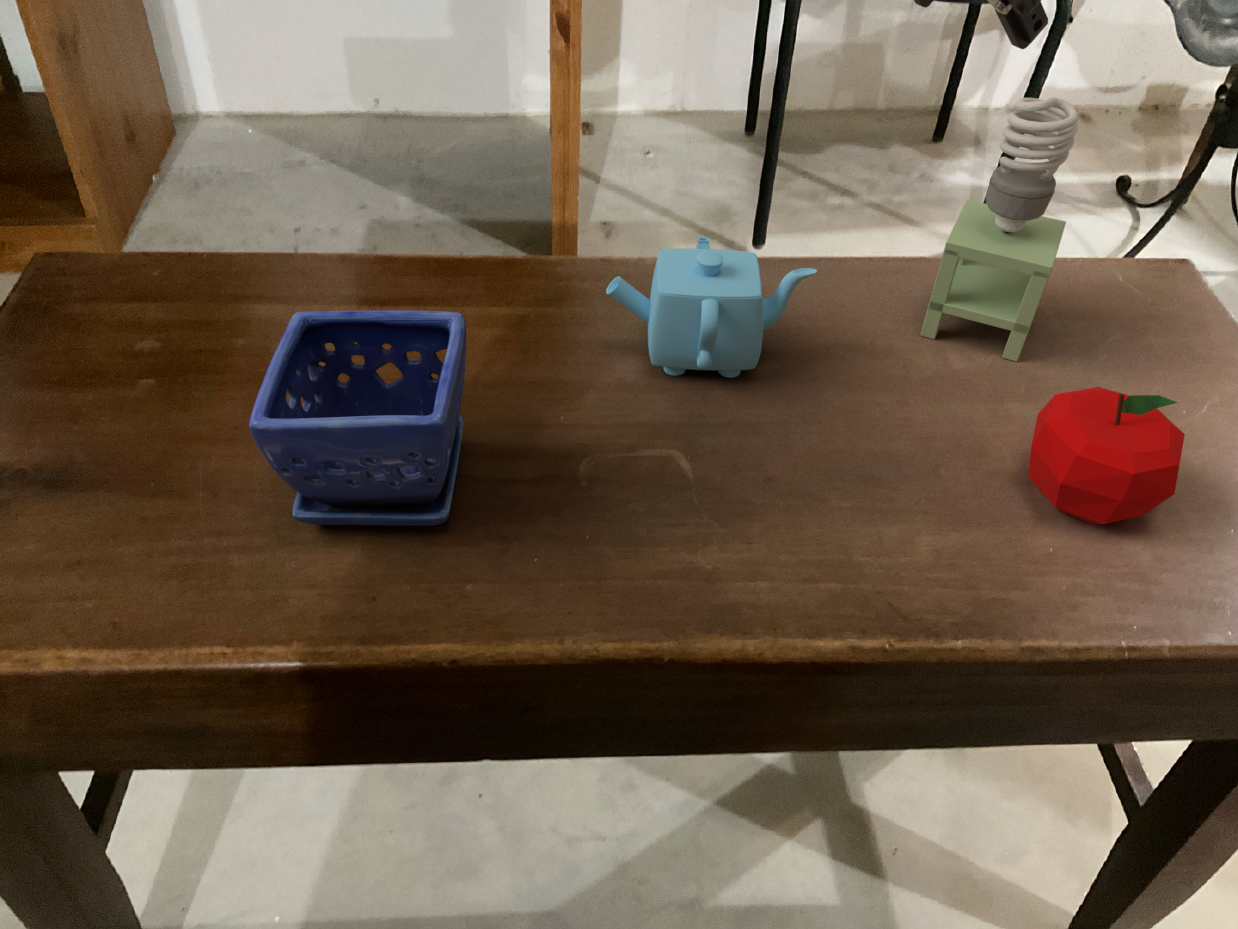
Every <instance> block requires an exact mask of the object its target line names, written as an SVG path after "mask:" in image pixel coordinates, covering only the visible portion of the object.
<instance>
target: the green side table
mask: <svg viewBox="0 0 1238 929" xmlns="http://www.w3.org/2000/svg"><path fill="white" fill-rule="evenodd" d="M995 219H996V214H995V213H994V212H992V211H991V210H990V209H989V208H988V206H987V204H986V202H985V203H984V202H980V201H975V200H971V199H966V200H965V201H964V204H963V206H962V208H961V210H960V212H959V214H958V216H957V219H956V221H955V223H954V225H953V227H952V229H951V231H950V234H949V236H948V238H947V240H946V242H945V245H944V249H943V251H942V256H941V259H940V263H939V267H938V269H937V273H936V277H935V280H934V284H933V288H932V292H931V295H930V299H929V301H928V305H927V308H926V313H925V316H924V319H923V323H922V327H921V331H920V335H919V336H920V337H923V338H927V339H931V340H935V339H936V337H937V334H938V333H939V329H940V326H941V322H942V319H943V316H944V314H945V315H948V316H949V315H950V316H954V317H957V318H959V319H960V318H961V319H965V320H969V321H973V322H976V323H980V324H984V325H987V326H992V327H995V328H999V329H1003V330H1007V331H1010V333H1009V337H1008V339H1007V342H1006V344H1005V347H1004V350H1003V353H1002V356H1001V358H1002V359H1005V360H1010V361H1011V362H1012V361H1013V362H1016V363H1017V362H1019V361H1018V360H1019V359H1020V356H1021V354H1022V350H1023V348H1024V345H1025V343H1026V340H1027V337H1028V335H1029V332H1030V329H1031V326H1032V324H1033V321H1034V319H1035V316H1036V313H1037V311H1038V308H1039V306H1040V302H1041V300H1042V297H1043V295H1044V292H1045V289H1046V286H1047V283H1048V281H1049V278H1050V276H1051V273H1052V270H1053V267H1054V265H1055V261H1056V257H1057V255H1058V251H1059V248H1060V244H1061V241H1062V238H1063V235H1064V231H1065V227H1066V224H1067V221H1066V220H1061V219H1057V218H1052V217H1048V216H1044V215H1042V216H1040V217H1039V218H1037V219H1033V220H1029V221H1026V223H1025V224H1024V227H1023V228H1022V229H1021V230H1018V231H1016V232H1012V233H1004V232H1003V231H1002V230H1001V229H999V228H998V226H997V225H996V223H995Z"/></svg>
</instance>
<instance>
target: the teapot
mask: <svg viewBox="0 0 1238 929" xmlns="http://www.w3.org/2000/svg"><path fill="white" fill-rule="evenodd" d="M695 247H696V248H663V249H660V250H659V251H658V254H657V257H656V262H655V266H654V270H653V276H652V281H651V286H650V296H649V298H648V297H646V296H645V295H644V294H643V293H641V292H640V291H638V289H636V288H635V287H633V285H631V284H630V283H629V282H627V281H626V280H625V279H623V277H621V276H616V277H614V278H613V280H611V282H610V283H609V284H608V286H607V288H606V290H605V292H606V293H605V294H607V296H609V297H610V298H612V299H613V300H615V301H616V302H617V303H619V305H621V306H623V307H624V308H625V309H627V310H629V311H630V312H631V313H633V314H634V315H635V316H636V317H637V318H638V319H640V320H642V321H643V322H645V323H647V344H648V345H647V346H648V353H649V359H650V363H651V365H653V366H655V367H660V368H661V367H662V368H663V371H664V372H665V373H666V374H667V375H670V376H681V375H683V374H685V372H686V370H694V371H695V370H696V371H717V372H718V373H719V374H720V375H721V376H722V377H724V378H731V379H732V378H736V377H738V376H740V374H741V371H746V370H747V371H748V370H753V369H756V367H757V365H758V362H759V360H760V356H761V353H762V346H763V336H764V334H763V333H764V331H765V330H768V329H770V328H771V327H772V326H774V325H775V324H777V322H778V321H779V320H780V319H781V318H782V316H783V314H784V312H785V310H786V308H787V306H788V303H789V300H790V298H791V295H792V294H793V292H794V290H795V288H796V287H797V285H798V284H799V283H800V282H802V281H803V280H804V279H806V278H808V277H810V276H813V275H815V274H816V273H817V272H818V269H816V268H811V267H802V268H796V269H793V270H791V271H790V272H788V273H786V275H784V277H783V278H782V280H781V281H780V283H779V284H778V287H777V289H776V290H775V292H774V293H772V294H771V295H770V296H768V297H766V298H763V288H762V280H761V271H760V264H759V259H758V256H757V254H756V253H755V252H752V251H745V250H734V249H719V248H718V249H717V248H716V249H715V248H711V246H710V239H709V236H708V237H707V236H697V241H696V246H695Z"/></svg>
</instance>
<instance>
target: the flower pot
mask: <svg viewBox="0 0 1238 929" xmlns="http://www.w3.org/2000/svg"><path fill="white" fill-rule="evenodd" d="M326 344H332V345H333V347H334V350H328V349H327V348H326ZM384 345H389V346H391V347H390V348H389V349H387V348H385V347H384ZM444 350H446V351H445V352H446V353H445V356H444V360H443V362H442V360H441V359H440V357H439V356H438V354H437V353H438V352H441V351H444ZM410 352H411V353H414V352H417V353H418V354H419V358H420V359H409V358H408V353H410ZM353 356H361V357H363V362H364V364H361V363H354V361H353V360H352V357H353ZM466 361H467V323H466V318H465V316H464V315H463V313H461V312H455V311H441V310H398V309H397V310H395V309H391V310H390V309H388V310H386V309H385V310H311V311H309V310H308V311H307V310H306V311H298V312H294V314H293V315H292V316H291V318H290V321H289V322H288V324H287V326H286V328H285V330H284V332H283V335H282V336H281V339H280V341H279V343H278V346H277V347H276V349H275V351H274V354H273V356H272V358H271V360H270V363H269V365H268V367H267V370H266V372H265V375H264V377H263V380H262V382H261V385H260V387H259V389H258V390H259V391H258V393H257V395H256V398H255V401H254V405H253V408H252V411H251V414H250V417H249V422H248V427H249V431H250V434H251V436H252V438H253V440H254V442H255V444H256V446H257V448H258V449H259V451H260V453H261V454H262V456H263V458H264V459H265V461H266V462H267V463H268V464H269V466H270V467H271V469H272V470H273V471H274V472H275V473H276V475H277V476H279V478H280V479H282V480H283V481H284V482H285V484H287V485H288V486H289V487H290V488H292V489H293V490H294V491H295V492H297V493H296V496H295V499H294V502H293V506H292V511H291V512H292V513H291V515H292V518H293V519H294V520H296V521H298V522H301V523H304V524H309V525H322V526H323V525H324V526H325V525H326V526H397V527H398V526H401V527H405V526H406V527H408V526H409V527H413V526H416V527H425V526H426V527H429V526H438V525H439V526H440V525H441V524H444V523H445V522H446V521H447V520H448V519H449V515H450V512H451V507H452V503H453V496H454V490H455V485H456V479H457V473H458V467H459V460H460V456H461V448H462V442H463V441H462V440H463V434H464V418H463V417H462V416H461V415H460V413H461V409H462V400H463V393H464V386H465V377H466V376H465V375H466ZM320 363H323V364H324V365H321V364H320ZM390 363H391V364H392V365H393V366H394V367H395V368H396V369H397V370H398V371H399V372H400V373H401V374H402V375H401V377H399V378H396V380H394V381H392V382H390V383H387V382H386V381H385V379H383V378H382V376H380V374H379V373H378V372H377V371H378V370H379V369H381V368H382V367H383V366H386V365H387V364H390ZM341 374H344V375H346V376H347V377H349V378H348V380H347V382H343V381H340V380H339V377H340V375H341ZM433 374H434V375H437V378H435V377H433V376H432V375H433ZM287 394H288V397H289V401H287ZM302 400H303V404H302Z"/></svg>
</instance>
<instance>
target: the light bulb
mask: <svg viewBox="0 0 1238 929" xmlns="http://www.w3.org/2000/svg"><path fill="white" fill-rule="evenodd" d="M1014 108H1015V111H1013V112H1011V113H1010V114H1008V116H1007V123H1008V124H1007V125H1006V126H1004V128H1003V129H1002V136H1003V137H1004V138H1002V139H1001V140H1000V142H999V149H1000V150H1001V151H1002V153H1004V154H1006V155H1008V156H1011V157H1014V158H1017V159H1023V160H1031V161H1032V160H1034V161H1036V160H1037V161H1039V160H1041V162H1025V161H1018V160H1014V159H1011V158H1008V157H1007V156H1001V157H1000V158H999V166H997V167H996V168H995V169H994V170H993V171H992V174H991V176H990V178H989V181H988V186H987V191H986V195H985V204H987V206H988V208H989V209H990V210H991V211H992V212H994V213H995V214H996V219H995V223H996V225H997V226H998V228H999V229H1001V230H1002V231H1003V232H1004V233H1012V232H1016V231H1018V230H1021V229H1022V228H1023V227H1024V224H1025V223H1026V221H1029V220H1033V219H1037V218H1039V217H1040V216H1044V214H1045V212H1046V210H1047V208H1048V206H1049V204H1050V202H1051V200H1052V198H1053V196H1054V194H1055V189H1056V187H1057V180H1056V178H1055V176H1054V175H1055V173H1056V172H1057V171H1058V170H1059V167H1060V166H1061V165H1063V164H1064V163H1065V162H1066V161H1067V159H1068V158H1069V155H1070V150H1071V149H1073V146H1074V144H1075V136H1076V134H1077V132H1078V129H1079V125H1078V120H1079V113H1078V111H1077V109H1076V108H1075V106H1073V105H1072V104H1071V103H1070V102H1069V101H1066V100H1065V99H1061V98H1058V97H1053V96H1052V97H1048V98H1047V99H1040V98H1035V97H1021V98H1019V99H1018V100H1017V101H1015V103H1014ZM1043 111H1046V112H1047V113H1050V114H1052V115H1055V116H1057V117H1059V118H1060V120H1059V119H1057V118H1055V117H1053V116H1050V115H1047V114H1044V113H1041V112H1043ZM1055 132H1057V134H1056V133H1055ZM1052 146H1053V147H1052ZM1051 147H1052V148H1051ZM1042 160H1047V161H1044V162H1043V161H1042Z"/></svg>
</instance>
